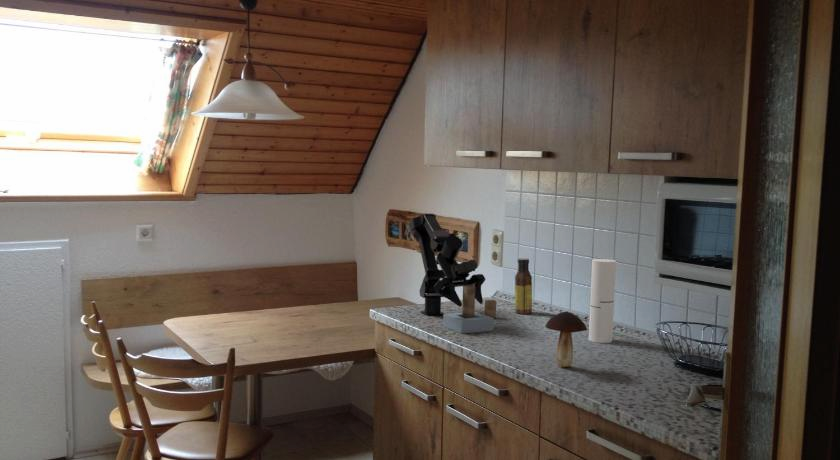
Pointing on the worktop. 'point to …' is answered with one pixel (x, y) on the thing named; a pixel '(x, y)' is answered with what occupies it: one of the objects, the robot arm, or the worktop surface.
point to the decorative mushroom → (565, 335)
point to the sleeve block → (468, 323)
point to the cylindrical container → (602, 300)
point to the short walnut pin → (490, 308)
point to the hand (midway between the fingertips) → (471, 304)
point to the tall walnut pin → (468, 301)
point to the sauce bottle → (523, 288)
